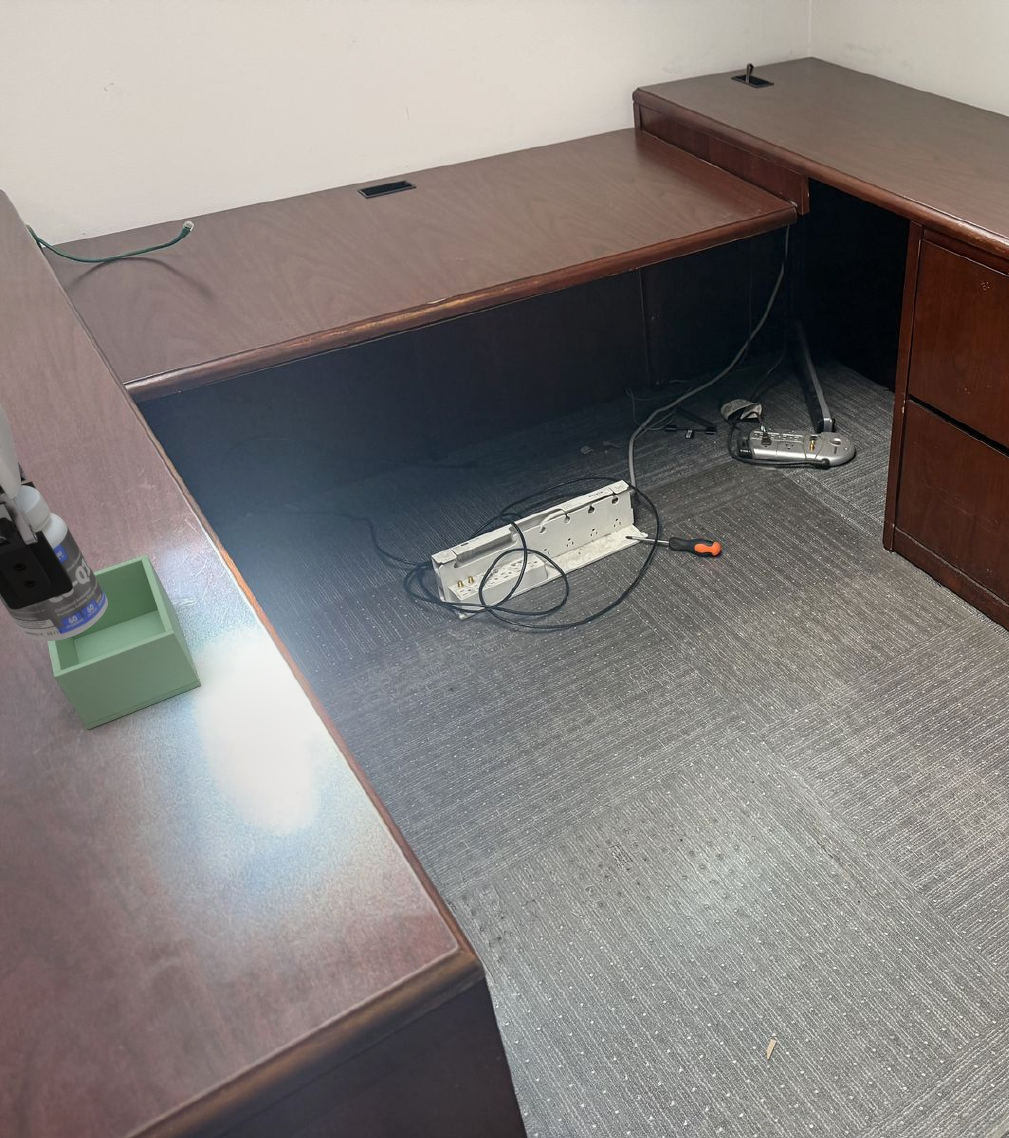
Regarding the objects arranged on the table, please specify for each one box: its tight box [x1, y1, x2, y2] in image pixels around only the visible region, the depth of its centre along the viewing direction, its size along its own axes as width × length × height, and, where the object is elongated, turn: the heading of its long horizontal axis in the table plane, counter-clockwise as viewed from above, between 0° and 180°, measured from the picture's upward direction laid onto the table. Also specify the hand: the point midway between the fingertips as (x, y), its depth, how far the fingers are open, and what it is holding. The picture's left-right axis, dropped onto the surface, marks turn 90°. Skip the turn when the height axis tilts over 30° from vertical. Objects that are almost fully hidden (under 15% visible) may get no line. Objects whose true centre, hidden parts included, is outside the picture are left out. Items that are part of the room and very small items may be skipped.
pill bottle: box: [0, 485, 108, 642], centre depth 60 cm, size 5×5×8 cm
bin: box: [46, 554, 202, 730], centre depth 79 cm, size 11×8×6 cm
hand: (36, 569), depth 60 cm, fingers closed on pill bottle, 4 cm apart
